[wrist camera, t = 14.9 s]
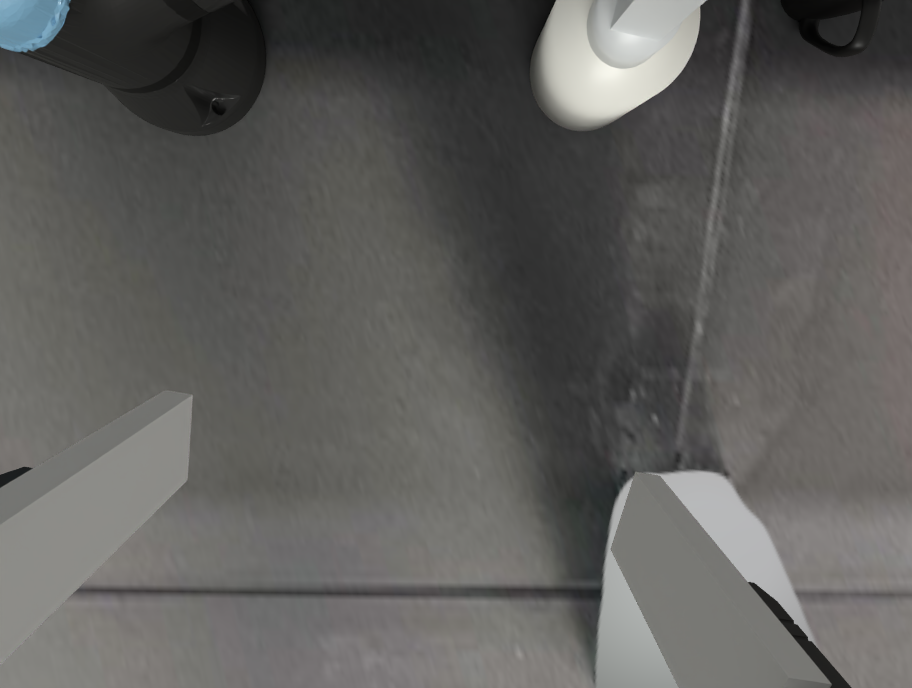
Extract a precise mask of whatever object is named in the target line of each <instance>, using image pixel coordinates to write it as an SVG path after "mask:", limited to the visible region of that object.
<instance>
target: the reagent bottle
mask: <svg viewBox="0 0 912 688" xmlns="http://www.w3.org/2000/svg"><path fill="white" fill-rule="evenodd" d="M705 1H706V0H556V2H555V4H554V6H553V8H552V10H551V12H550V14H549V17H548V19H547V21H546V23H545V25H544V27H543V29H542V31H541V34H540V36H539V38H538V40H537V42H536V44H535V47H534V49H533V53H532V57H531V62H530V84H531V88H532V92H533V95H534V98H535V100H536V102H537V104H538V106H539V107H540V109H541V110H542V112H543V113H544V114H545V115H546V116H547V117H548V118H549V119H550V120H551V121H553V122H554V123H556V124H557V125H559V126H561V127H563V128H566V129H569V130H574V131H591V130H596V129H599V128H602V127H604V126H606V125H608V124H610V123H612V122H613V121H615V120H616V119H618V118H620V117H621V116H623V115H624V114H626V113H627V112H629V111H631V110H632V109H634V108H635V107H637V106H639V105H640V104H642V103H643V102H645V101H647V100H648V99H650V98H651V97H653V96H654V95H656V94H658V93H659V92H661V91H662V90H663V89H665V88H666V87H667V86H669V85H670V84H671V83H672V82H673V81H674V80H675V79H676V77H677V76H678V75H679V74H680V72H681V71H682V70H683V68H684V67H685V65H686V64H687V62H688V60H689V58H690V56H691V54H692V52H693V49H694V46H695V44H696V41H697V36H698V32H699V25H700V5H702V4H703V3H704V2H705Z"/></svg>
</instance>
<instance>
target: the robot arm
mask: <svg viewBox="0 0 912 688" xmlns="http://www.w3.org/2000/svg"><path fill="white" fill-rule="evenodd" d="M0 47H2V48H5V49H8V50H11V51H15V52H18V53H21V54H23V55H26V56H29V57H31V58H34V59H37V60H39V61H42V62H45V63H47V64H50V65H53V66H55V67H58V68H61V69H63V70H66V71H69V72H71V73H74V74H77V75H79V76H82V77H85V78H87V79H90V80H93V81H95V82H98V83H101V84H103V85H104V86H105V87H106V88H107V89H108V90H109V91H110V92H111V93H112V94H113V95H114V96H115V97H116V98H117V99H118V100H119V101H120V102H121V103H122V104H123V105H124V106H125V107H127V108H128V109H129V110H130V111H131V112H133V113H134V114H135V115H137V116H138V117H140V118H142V119H143V120H145V121H147V122H149V123H151V124H153V125H155V126H157V127H160V128H163V129H166V130H169V131H172V132H175V133H179V134H183V135H191V136H201V135H210V134H214V133H217V132H220V131H223V130H225V129H227V128H229V127H231V126H232V125H234V124H235V123H237V122H238V121H239V120H240V119H241V118H242V117H244V116H245V114H246V113H247V112H248V111H249V110H250V108H251V107H252V105H253V104H254V102H255V100H256V99H257V97H258V94H259V92H260V89H261V87H262V83H263V79H264V74H265V64H266V54H265V45H264V39H263V35H262V31H261V28H260V25H259V22H258V20H257V17H256V15H255V13H254V11H253V9H252V7H251V6H250V4H249V2H248V1H247V0H0ZM192 398H193V395H191V394H186V393H180V392H174V391H168V390H164V391H163V392H161V393H159V394H158V395H156V396H154V397H153V398H151V399H149V400H147V401H146V402H144V403H142V404H141V405H139V406H137V407H136V408H134V409H132V410H131V411H129V412H127V413H126V414H124V415H122V416H121V417H119V418H117V419H115V420H114V421H112V422H110V423H109V424H107V425H105V426H104V427H102V428H100V429H99V430H97V431H95V432H94V433H92V434H90V435H88V436H87V437H85V438H83V439H82V440H80V441H78V442H77V443H75V444H73V445H72V446H70V447H68V448H67V449H65V450H63V451H62V452H60V453H58V454H56V455H55V456H53V457H51V458H50V459H48V460H46V461H45V462H43V463H41V464H40V465H38V466H36V467H35V468H29V467H22V468H19V469H16V470H13V471H10V472H7V473H4V474H1V475H0V665H1V664H2V663H3V662H4V661H5V660H6V659H7V658H8V657H9V656H10V655H11V654H12V653H13V652H14V651H15V650H16V649H17V648H18V647H19V646H20V645H21V644H22V643H23V642H24V641H25V640H26V639H27V638H28V637H29V636H30V635H31V634H32V633H33V632H34V631H35V630H36V629H37V628H38V627H39V626H40V625H41V624H42V623H43V622H44V621H45V620H46V619H47V618H49V617H50V616H51V615H52V614H53V613H54V612H55V611H56V610H57V609H58V608H59V607H60V606H61V605H62V604H63V603H64V602H65V601H66V600H67V599H68V598H69V597H70V596H71V595H72V594H73V593H74V592H75V591H76V590H77V589H78V588H79V587H80V586H81V585H82V584H83V583H84V582H85V581H86V580H87V579H88V578H89V577H90V576H91V575H92V574H93V573H94V572H95V571H96V570H97V569H98V568H99V567H100V566H101V565H102V564H103V563H104V562H105V561H106V560H107V559H108V558H109V557H110V556H111V555H112V554H113V553H114V552H115V551H116V550H117V549H118V548H119V547H120V546H121V545H122V544H123V543H124V542H125V541H126V540H127V539H128V538H129V537H130V536H132V535H133V534H134V533H135V532H136V531H137V530H138V529H139V528H140V527H141V526H142V525H143V524H144V523H145V522H146V521H147V520H148V519H149V518H150V517H151V516H152V515H153V514H154V513H155V512H156V511H157V510H158V509H159V508H160V507H161V506H162V505H163V504H164V503H165V502H166V501H167V500H168V499H169V498H170V497H171V496H172V495H173V494H174V493H175V492H176V491H177V490H178V489H179V488H180V487H181V486H182V485H183V484H184V483H185V482H186V481H187V480H188V464H189V448H190V431H191V415H192ZM611 551H612V553H613V555H614V557H615V559H616V561H617V563H618V565H619V567H620V569H621V571H622V573H623V575H624V577H625V579H626V581H627V583H628V585H629V587H630V590H631V592H632V593H633V596H634V598H635V599H636V602H637V604H638V606H639V608H640V610H641V612H642V614H643V616H644V618H645V620H646V622H647V624H648V626H649V628H650V630H651V632H652V634H653V636H654V638H655V640H656V642H657V645H658V646H659V649H660V651H661V653H662V655H663V656H664V659H665V661H666V663H667V665H668V667H669V669H670V671H671V673H672V675H673V677H674V679H675V681H676V683H677V685H678V687H679V688H851V687H850V685H849V684H848V683H847V682H846V681H845V680H844V679H843V677H842V676H841V675H840V674H839V673H838V672H837V670H836V669H835V668H834V667H833V666H832V665H831V663H830V662H829V661H828V660H827V659H826V658H825V656H824V655H823V654H822V653H821V652H820V651H819V649H818V648H817V647H816V646H815V645H814V644H813V643H812V641H808V637H807V636H806V634H805V633H804V632H803V631H802V630H801V629H800V628H799V626H798V625H796V624H794V620H793V619H792V618H791V617H790V616H789V615H788V614H787V612H786V611H785V610H784V609H783V608H782V607H781V605H780V604H779V603H778V602H777V601H776V600H775V599H774V598H772V597H771V596H770V595H769V594H767V593H766V592H765V591H764V590H762V589H761V588H760V587H759V586H757V585H756V584H755V583H751V582H747V581H746V580H745V579H744V577H743V576H742V575H741V574H740V572H739V571H738V570H737V569H736V567H735V566H734V565H733V564H732V563H731V562H730V560H729V559H728V558H727V557H726V555H725V554H724V553H723V552H722V551H721V550H720V548H719V547H718V546H717V544H716V543H715V542H714V541H713V540H712V538H711V537H710V536H709V535H708V534H707V533H706V531H705V530H704V529H703V528H702V527H701V525H700V524H699V523H698V521H697V520H696V519H695V518H694V517H693V516H692V514H691V513H690V512H689V511H688V509H687V508H686V507H685V506H684V505H683V503H682V502H681V501H680V500H679V499H678V497H677V496H676V495H675V494H674V492H673V491H672V490H671V489H670V488H669V486H668V485H667V484H666V483H665V482H664V480H663V479H662V478H661V477H660V476H657V475H652V474H646V473H640V472H635V475H634V478H633V481H632V484H631V488H630V491H629V494H628V497H627V500H626V503H625V506H624V509H623V512H622V515H621V519H620V522H619V525H618V528H617V531H616V534H615V537H614V540H613V543H612V547H611Z"/></svg>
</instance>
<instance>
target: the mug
mask: <svg viewBox="0 0 912 688" xmlns="http://www.w3.org/2000/svg"><path fill="white" fill-rule="evenodd" d="M882 1H883V0H781V3H782V7H783V9H784V10H785V12H786V13H787V14H788V15H789V16H790V17H791V18H793V19H794V20H797V21H800V27H799V30H800V34H801V36H802V38H803V39H804V40H806V41H807V42H808V43H810V44H812V45H813V46H815V47H817V48H818V49H820V50H822V51H824V52H825V53H827V54H830V55H833V56H836V57H848V56H853V55H856V54H859V53H861V52H862V51H864V50H865V49H866V48H867V47H868V46H869V44H870V43H871V41H872V39H873V36H874V34H875V31H876V27H877V24H878V20H879V15H880V10H881V2H882ZM860 10H861V16H860V21H859V25H858V28H857V31H856V34H855V36H854V38H853V39H852V41H851V42H850V43H849V44H847V45H845V46H836V45H833V44H831V43H829V42H827V41H826V40H824V39H823V38H822V37H821V36H820V35H819V32H818V25H819V21H820V19H827V18H833V17H837V16H842V15H846V14H850V13H854V12H857V11H860Z"/></svg>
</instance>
